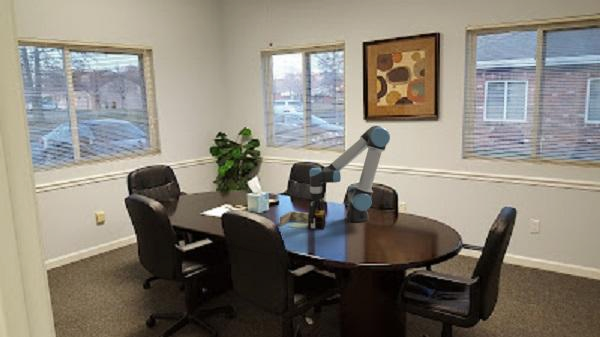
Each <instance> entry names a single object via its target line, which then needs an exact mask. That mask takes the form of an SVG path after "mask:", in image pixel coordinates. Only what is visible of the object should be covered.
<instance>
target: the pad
mask: <svg viewBox="0 0 600 337" xmlns="http://www.w3.org/2000/svg"><path fill="white" fill-rule="evenodd" d="M287 227H288V228H295V229H303V230H305V229H307V228H308V222H301V221H294V222H293V223H291V224H289V225H288V226H287Z"/></svg>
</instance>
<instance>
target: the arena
mask: <svg viewBox="0 0 600 337" xmlns="http://www.w3.org/2000/svg"><path fill="white" fill-rule="evenodd" d="M308 213H309V212H302V211H292V210H290V211H289V212H287V213H284V214H283V215H281V216H280V217H279V226H280V227H283V226H285V225H287V224H288V223H290V222H291V221H293V222H296V221H298V222H307V223H308Z"/></svg>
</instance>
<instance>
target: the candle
mask: <svg viewBox="0 0 600 337" xmlns="http://www.w3.org/2000/svg"><path fill="white" fill-rule="evenodd" d="M325 212H326V210H324V211H321V210H318V209H316V212H315V216H314V218H315V228H311V218H309V212H307V213H308V222H307V223H308V227H307V228H308V230H323V231H324V229H325V228H326V225H327V224H326V223H327V222H326V213H325Z"/></svg>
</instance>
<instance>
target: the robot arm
mask: <svg viewBox="0 0 600 337" xmlns="http://www.w3.org/2000/svg"><path fill="white" fill-rule="evenodd" d="M390 140H391V134H390V132H389V130H387V129H386V128H385V127H383V126H381V125H373V126H371V127H369V128H368V129H367V130H365V132H364V133H363V134H361V135H360V136H359V139H358V140H357V141H356V142H355V143H353V144H352V145H351V146H350V147H349V148H347V149H346V150H345V151H344V152H342V153H341V154H340V155H339V156H338V157H337V158H336V159H335V160H334V161H332V162H331V163H330V164H329V165H328V166H325V167H324V168H323V170H322V168H320V167H312V168H310V169H309V192H310V193H309V198H310V199H311V200H312V201H311V202H309V210H308V213H309V218H311V228H315V218H314V216H315V212H316V210H321V211H325V207H324V201H323V193H322V192H323V185H322V184H325V183H326V184H328V183H331V184H332V183H335V184H336V183H340V182H341V179H342V178H341V176H342V174H341V171H342V170H343V169H344V168H346V166H348V165H349V164H350V163H351V162H352V161H354V160H355V159H356V158H358V156H359V155H361V154H362V153H363V152H364V151H365V150H366V149H367V152H366V156H365V159H364V162H363V167H362V170H361V174H360V177H359V181H358V184H357V185H349V186H348V187H347V188H348V208H347V212H346V214H345V215H346V216H345V219H346V221H349V222H353V223H362V222H367V221H369V220H370V218H369V217H370V216H369V213H368V210H369V209H370V207H372V203H373V202H372V201H373V200H372V195H373V193H374V191H373V189H372V187H373V184H374V180H375V176H376V173H377V170H378V167H379V166H378V165H379V163H380V159H381V156H382V153H383V152H385V151H386V147H387V145H388V144H389V142H390Z"/></svg>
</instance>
